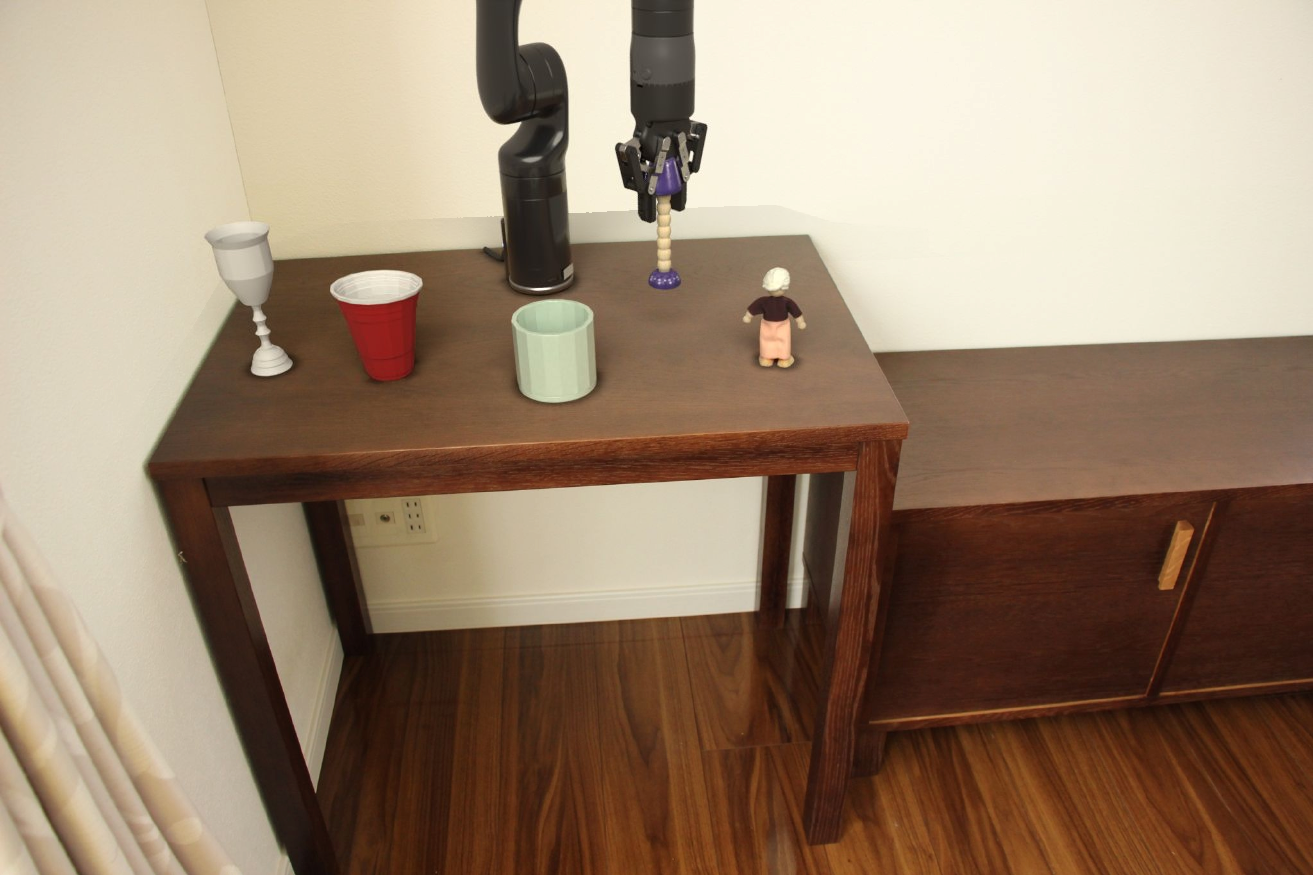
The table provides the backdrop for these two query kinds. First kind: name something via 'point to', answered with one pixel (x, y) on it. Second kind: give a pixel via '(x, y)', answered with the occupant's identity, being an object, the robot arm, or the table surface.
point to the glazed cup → (554, 350)
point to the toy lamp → (665, 226)
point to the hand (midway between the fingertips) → (662, 214)
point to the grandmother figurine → (775, 319)
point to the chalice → (250, 282)
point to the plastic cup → (381, 319)
